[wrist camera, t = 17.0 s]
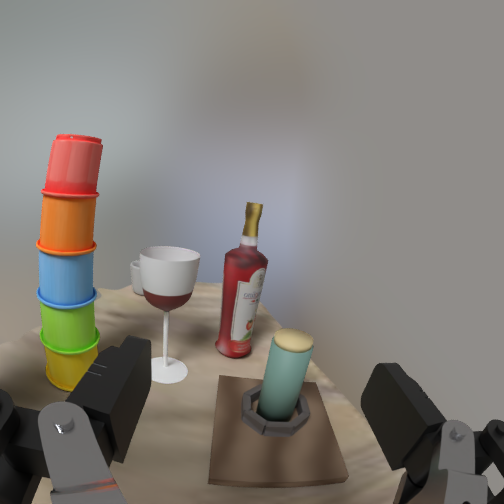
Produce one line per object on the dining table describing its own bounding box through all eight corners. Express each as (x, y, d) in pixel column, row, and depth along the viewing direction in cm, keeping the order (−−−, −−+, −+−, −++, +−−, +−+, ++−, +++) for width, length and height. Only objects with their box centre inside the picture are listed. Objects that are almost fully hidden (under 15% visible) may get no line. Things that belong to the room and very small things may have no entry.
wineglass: (132, 363, 41) (131, 247, 37) (173, 351, 48) (180, 245, 43) (155, 390, 36) (156, 263, 32) (200, 374, 42) (211, 258, 38)
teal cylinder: (257, 425, 31) (276, 346, 29) (254, 401, 36) (270, 325, 33) (294, 426, 31) (319, 349, 29) (288, 403, 36) (309, 329, 34)
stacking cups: (92, 350, 41) (95, 143, 34) (114, 384, 35) (118, 136, 28) (41, 360, 33) (32, 138, 26) (55, 399, 27) (36, 128, 20)
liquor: (232, 338, 56) (253, 202, 50) (259, 354, 52) (285, 208, 46) (205, 348, 51) (223, 198, 45) (232, 366, 46) (257, 205, 40)
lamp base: (208, 483, 22) (209, 469, 21) (218, 381, 41) (220, 365, 41) (344, 482, 23) (355, 467, 22) (313, 388, 42) (318, 373, 42)
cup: (158, 284, 79) (160, 258, 77) (172, 294, 74) (174, 266, 72) (125, 288, 71) (126, 260, 69) (137, 299, 66) (137, 269, 64)
